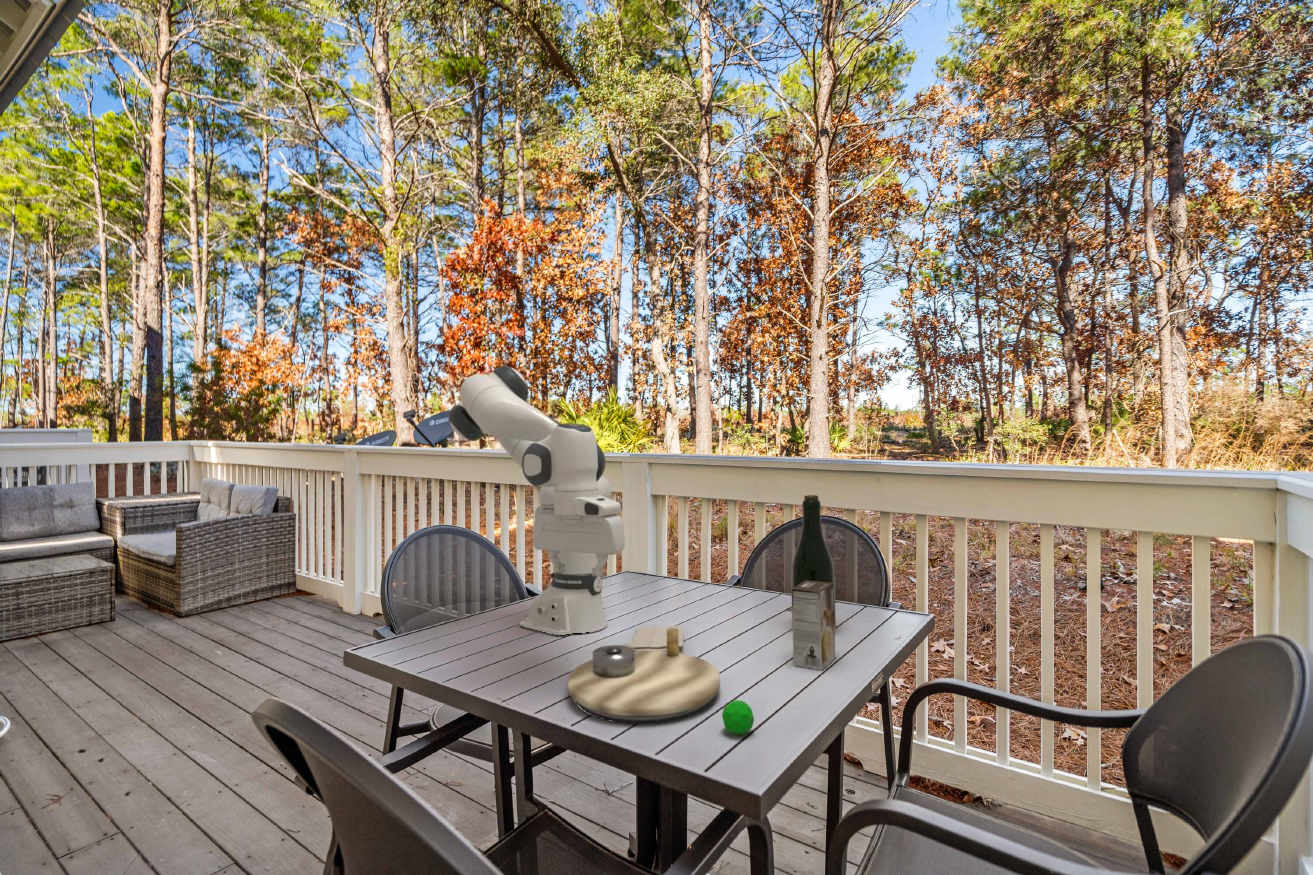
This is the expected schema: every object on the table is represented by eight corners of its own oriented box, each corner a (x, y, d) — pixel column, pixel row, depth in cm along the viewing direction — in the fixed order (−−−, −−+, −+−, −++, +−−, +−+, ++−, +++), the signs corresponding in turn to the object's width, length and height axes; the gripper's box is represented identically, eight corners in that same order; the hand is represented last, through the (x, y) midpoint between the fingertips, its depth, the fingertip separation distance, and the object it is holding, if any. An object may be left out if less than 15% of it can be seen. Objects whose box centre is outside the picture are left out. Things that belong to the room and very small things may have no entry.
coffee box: (806, 653, 137) (805, 579, 137) (836, 658, 133) (834, 582, 134) (792, 666, 129) (790, 587, 129) (823, 671, 126) (821, 591, 126)
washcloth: (629, 660, 135) (628, 646, 135) (635, 635, 153) (634, 622, 153) (684, 660, 135) (684, 645, 135) (683, 635, 153) (683, 622, 153)
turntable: (536, 698, 110) (536, 661, 110) (617, 650, 135) (616, 620, 135) (682, 728, 98) (681, 686, 98) (741, 669, 123) (740, 636, 123)
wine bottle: (844, 635, 149) (841, 496, 150) (803, 638, 147) (800, 497, 147) (823, 622, 159) (821, 492, 160) (785, 626, 157) (782, 494, 158)
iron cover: (584, 674, 118) (584, 652, 118) (606, 660, 125) (606, 640, 125) (622, 680, 114) (621, 658, 114) (642, 666, 121) (642, 645, 121)
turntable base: (545, 707, 111) (544, 684, 111) (619, 660, 134) (619, 641, 134) (679, 735, 99) (679, 710, 99) (735, 678, 123) (735, 658, 123)
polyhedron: (720, 726, 102) (720, 696, 102) (750, 725, 103) (749, 695, 103) (725, 740, 97) (724, 709, 97) (756, 739, 98) (756, 708, 98)
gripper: (525, 505, 127) (526, 573, 127) (610, 507, 117) (612, 581, 117) (545, 502, 132) (546, 568, 132) (628, 504, 123) (629, 575, 122)
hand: (578, 574), depth 124 cm, fingers open, 8 cm apart
